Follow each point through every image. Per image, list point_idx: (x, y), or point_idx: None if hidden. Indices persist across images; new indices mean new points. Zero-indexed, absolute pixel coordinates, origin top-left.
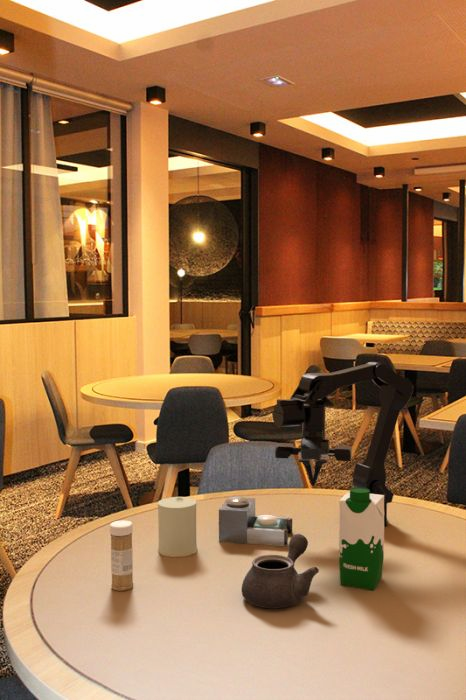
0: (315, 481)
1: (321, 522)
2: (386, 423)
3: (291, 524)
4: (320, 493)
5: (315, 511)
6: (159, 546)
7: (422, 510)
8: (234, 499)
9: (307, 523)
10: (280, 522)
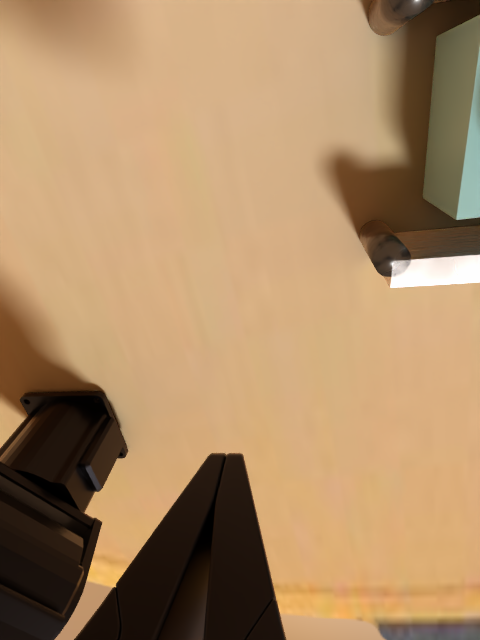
0: (189, 490)
1: (252, 392)
2: None
3: (373, 241)
4: (308, 595)
5: (297, 482)
6: None
7: None
8: None
9: (305, 372)
10: (450, 208)
